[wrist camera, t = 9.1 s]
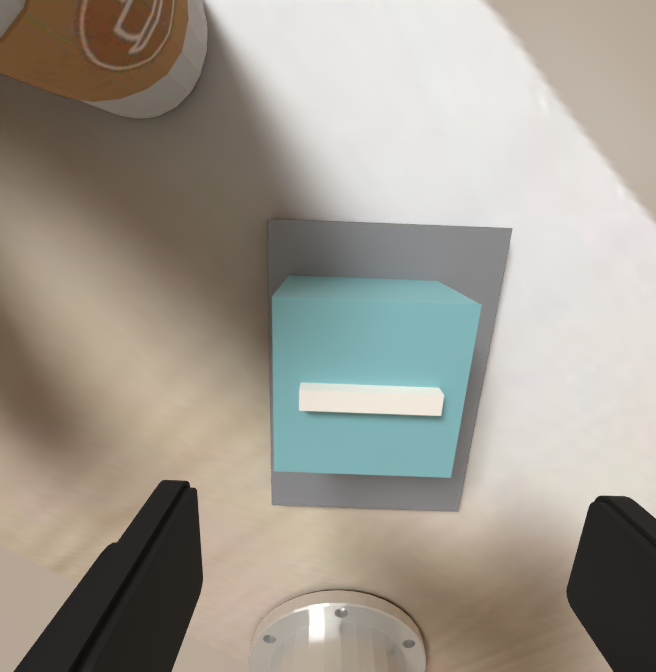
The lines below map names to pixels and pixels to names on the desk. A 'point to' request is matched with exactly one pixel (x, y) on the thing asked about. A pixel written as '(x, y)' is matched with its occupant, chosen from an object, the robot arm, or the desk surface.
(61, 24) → the coffee cup
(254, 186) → the desk surface
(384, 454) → the teal box
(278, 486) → the board
